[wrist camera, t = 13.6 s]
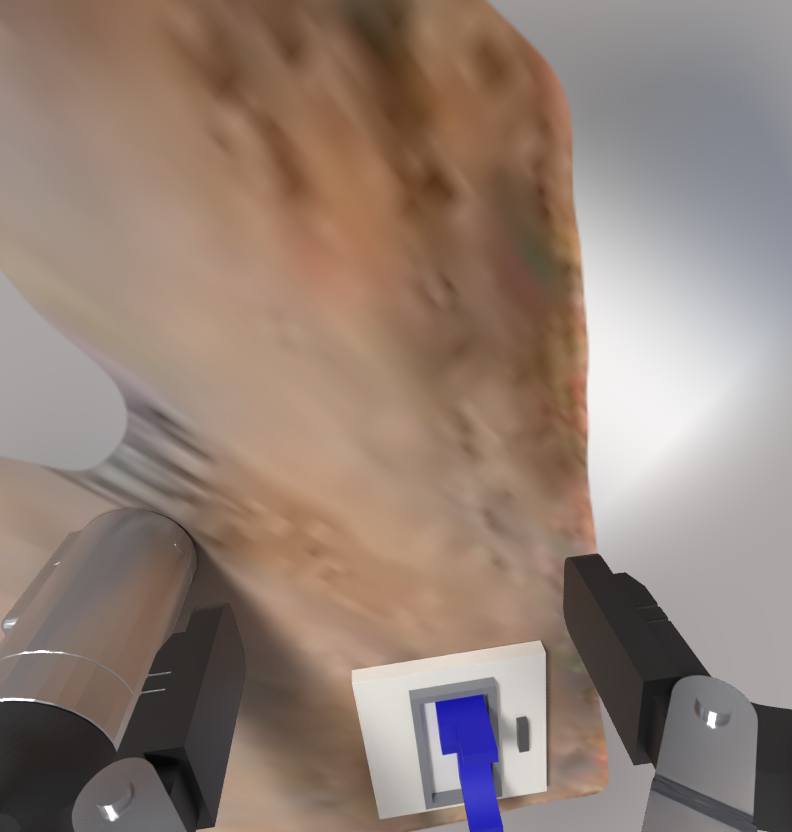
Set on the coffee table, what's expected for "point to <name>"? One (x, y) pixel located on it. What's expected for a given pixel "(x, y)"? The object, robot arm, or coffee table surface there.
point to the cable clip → (472, 757)
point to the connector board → (418, 729)
